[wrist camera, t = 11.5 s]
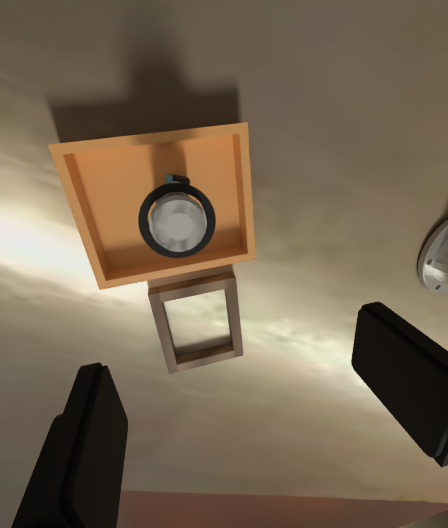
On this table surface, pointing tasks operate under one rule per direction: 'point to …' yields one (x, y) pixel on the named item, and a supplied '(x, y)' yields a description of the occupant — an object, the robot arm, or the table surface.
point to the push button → (176, 218)
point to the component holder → (191, 289)
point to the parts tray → (140, 185)
